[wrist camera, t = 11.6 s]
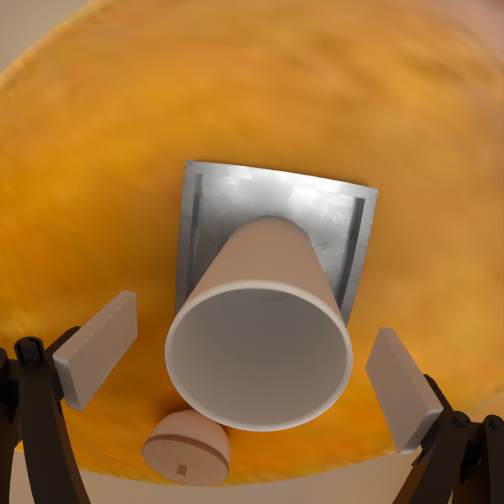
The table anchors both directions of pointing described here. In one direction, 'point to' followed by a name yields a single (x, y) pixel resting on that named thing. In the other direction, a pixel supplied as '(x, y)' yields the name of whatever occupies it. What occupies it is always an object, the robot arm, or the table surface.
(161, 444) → the lidded jar
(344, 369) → the cup
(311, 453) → the table surface
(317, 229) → the square metal tray
